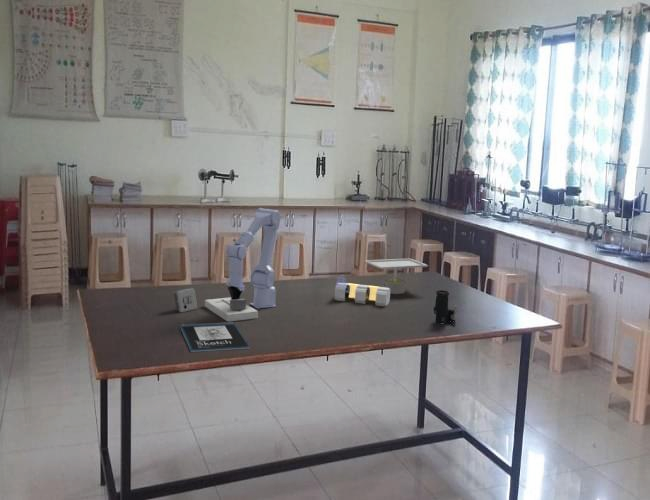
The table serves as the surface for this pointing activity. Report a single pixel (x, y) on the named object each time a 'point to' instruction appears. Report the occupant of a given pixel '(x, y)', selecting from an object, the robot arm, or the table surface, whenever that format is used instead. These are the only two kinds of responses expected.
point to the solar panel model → (395, 271)
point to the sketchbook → (213, 337)
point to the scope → (443, 308)
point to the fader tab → (237, 304)
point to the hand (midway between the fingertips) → (235, 303)
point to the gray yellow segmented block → (361, 292)
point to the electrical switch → (185, 300)
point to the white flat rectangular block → (224, 311)
